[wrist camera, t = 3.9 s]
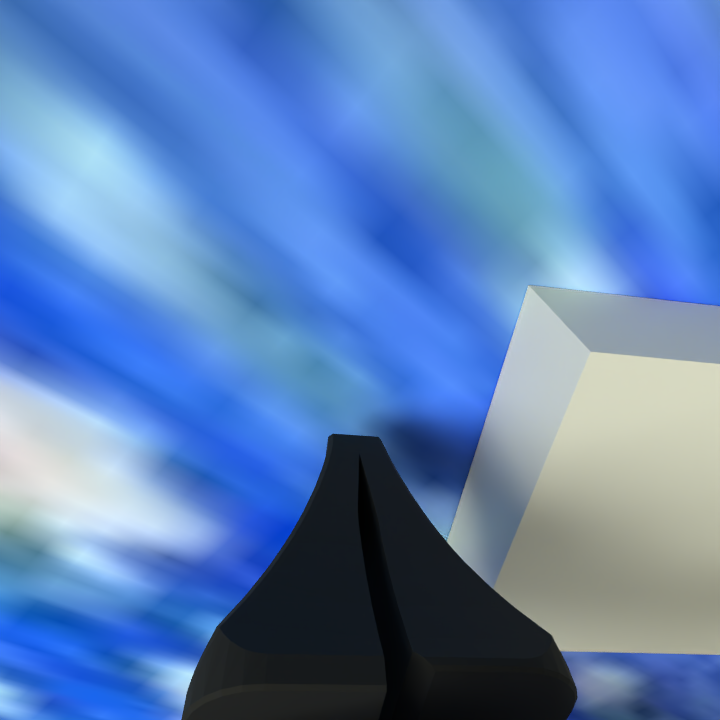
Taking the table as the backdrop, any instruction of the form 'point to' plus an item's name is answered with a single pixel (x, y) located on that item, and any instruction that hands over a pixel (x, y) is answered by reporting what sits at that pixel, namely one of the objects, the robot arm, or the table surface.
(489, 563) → the cream rectangular block
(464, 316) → the table surface
